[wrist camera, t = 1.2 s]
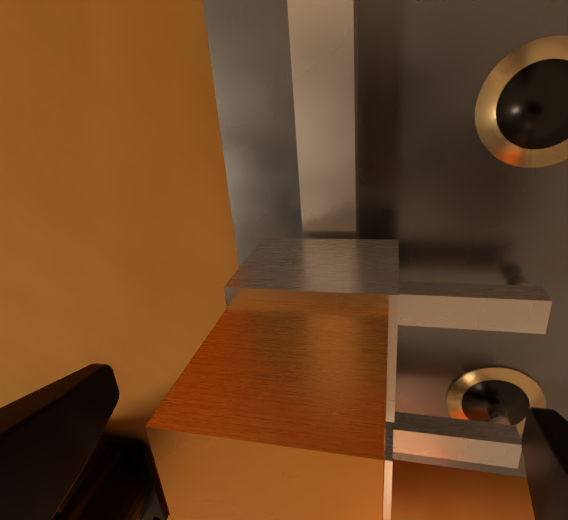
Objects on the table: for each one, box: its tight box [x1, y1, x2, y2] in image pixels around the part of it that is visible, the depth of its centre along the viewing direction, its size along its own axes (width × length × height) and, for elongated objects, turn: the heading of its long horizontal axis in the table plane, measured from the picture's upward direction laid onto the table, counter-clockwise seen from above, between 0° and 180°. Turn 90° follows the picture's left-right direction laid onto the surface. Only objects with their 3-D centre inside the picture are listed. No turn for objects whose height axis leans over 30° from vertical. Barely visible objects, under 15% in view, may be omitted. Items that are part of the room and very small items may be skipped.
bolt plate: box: [202, 0, 568, 520], centre depth 12 cm, size 17×12×6 cm
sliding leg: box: [145, 238, 552, 520], centre depth 10 cm, size 4×8×8 cm, turn 95°
